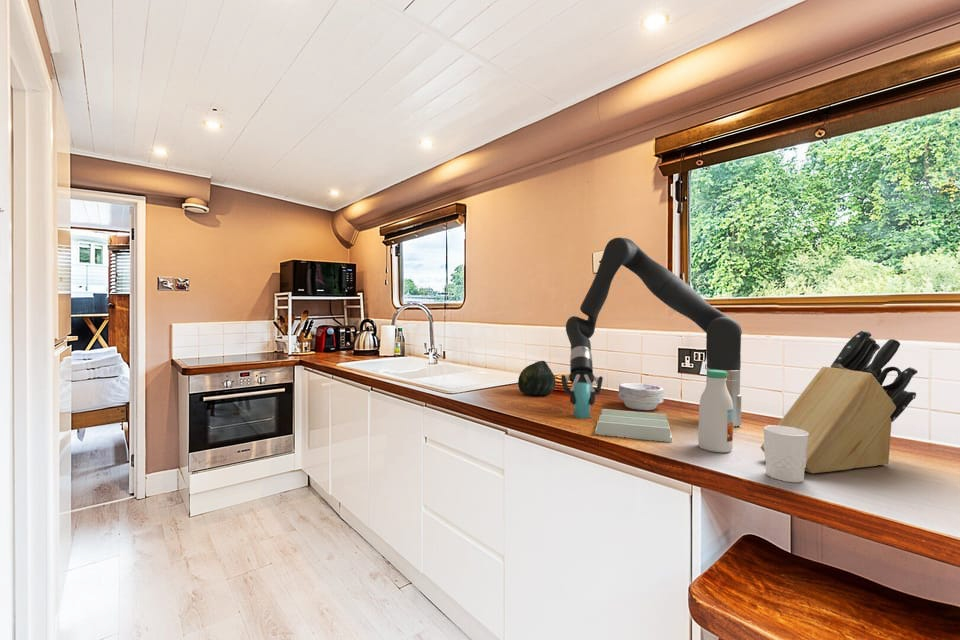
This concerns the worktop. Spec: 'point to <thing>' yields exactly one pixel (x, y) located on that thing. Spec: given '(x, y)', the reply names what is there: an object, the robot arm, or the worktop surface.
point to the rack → (634, 425)
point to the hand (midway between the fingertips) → (582, 403)
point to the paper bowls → (641, 395)
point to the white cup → (785, 452)
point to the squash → (537, 379)
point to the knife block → (851, 407)
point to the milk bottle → (716, 414)
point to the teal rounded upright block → (582, 399)
